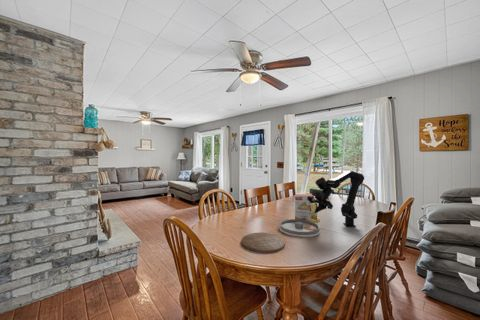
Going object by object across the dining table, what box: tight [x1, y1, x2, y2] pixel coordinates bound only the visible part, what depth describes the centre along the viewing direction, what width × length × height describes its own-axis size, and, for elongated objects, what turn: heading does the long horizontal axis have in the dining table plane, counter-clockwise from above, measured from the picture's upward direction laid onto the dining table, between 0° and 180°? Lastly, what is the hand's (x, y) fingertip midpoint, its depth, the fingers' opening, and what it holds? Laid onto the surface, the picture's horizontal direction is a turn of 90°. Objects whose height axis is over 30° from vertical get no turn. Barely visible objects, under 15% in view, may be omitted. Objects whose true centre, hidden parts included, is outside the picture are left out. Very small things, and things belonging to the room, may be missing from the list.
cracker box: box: [294, 193, 315, 221], centre depth 159 cm, size 14×6×21 cm, turn 73°
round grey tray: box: [278, 218, 321, 238], centre depth 141 cm, size 27×27×4 cm
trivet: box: [241, 232, 286, 254], centre depth 118 cm, size 25×25×2 cm
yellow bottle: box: [309, 203, 321, 224], centre depth 136 cm, size 7×7×12 cm
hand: (312, 211), depth 136 cm, fingers closed on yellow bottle, 4 cm apart
